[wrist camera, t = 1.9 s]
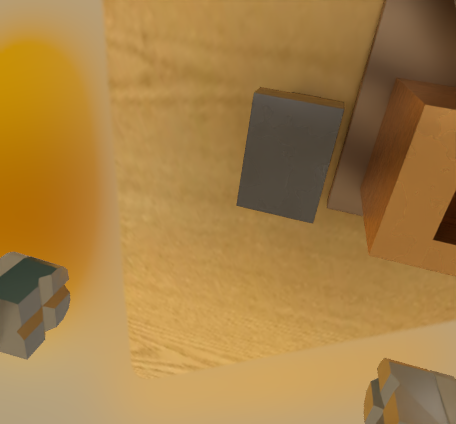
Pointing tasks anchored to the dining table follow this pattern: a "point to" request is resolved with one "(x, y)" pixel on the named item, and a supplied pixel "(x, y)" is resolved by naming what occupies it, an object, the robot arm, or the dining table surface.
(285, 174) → the grey t-shaped block
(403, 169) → the wooden slotted box
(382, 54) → the walnut base board
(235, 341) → the dining table surface
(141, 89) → the dining table surface
